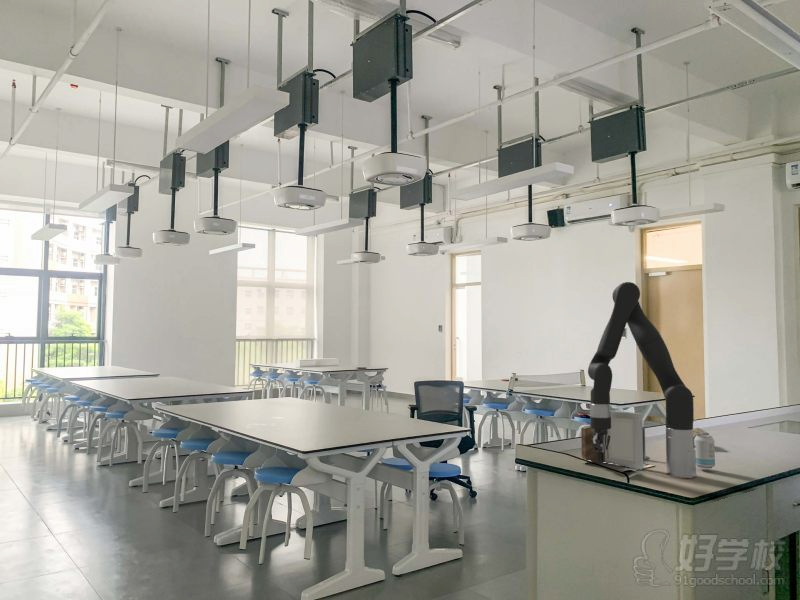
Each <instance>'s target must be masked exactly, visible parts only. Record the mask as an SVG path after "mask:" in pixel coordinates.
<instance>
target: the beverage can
mask: <svg viewBox="0 0 800 600" xmlns="http://www.w3.org/2000/svg"><path fill="white" fill-rule="evenodd" d="M715 448H716V447H715V439H714V438H713V435H711V434H709V435H705V434H697V435H696V437H695V439H694V449H695V451H696V467H698V468H700V469H713V467H715V466H716V451H715Z"/></svg>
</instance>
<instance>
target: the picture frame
mask: <svg viewBox="0 0 800 600" xmlns="http://www.w3.org/2000/svg"><path fill="white" fill-rule="evenodd" d="M642 427H643V413H641V412H633V411H632V412H631V411H630V412H629V411H621V410H613V409H611V429H607V431H608V435H609V436H611V438H610V442H609V445H608V449H607V450H606V452H605V462H606V463H613V464H618V465H623V466H626V467H625V468H627V467H629V469H635V470H640V471H641V470H644V460H643V428H642Z"/></svg>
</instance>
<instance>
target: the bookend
mask: <svg viewBox="0 0 800 600" xmlns="http://www.w3.org/2000/svg"><path fill="white" fill-rule="evenodd" d="M642 428H643V461H645V460H648V459H650V456H648V455H647V456H646V427H644V426H642Z"/></svg>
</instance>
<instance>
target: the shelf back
mask: <svg viewBox="0 0 800 600" xmlns="http://www.w3.org/2000/svg"><path fill="white" fill-rule="evenodd" d="M580 429H581V431H580V432H581V433H580V434H581V435H580V436H581V437H580V438H581V442H580V443H581V459H582V458H583V459H586V460H591V461H594V462H596V460H597V461H598V452H597V451H595V450H594V447H593V445H592V442H591V438H593V439H594V429H593V428H591V427H590V425H589V426H584V427H581V428H580Z"/></svg>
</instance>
